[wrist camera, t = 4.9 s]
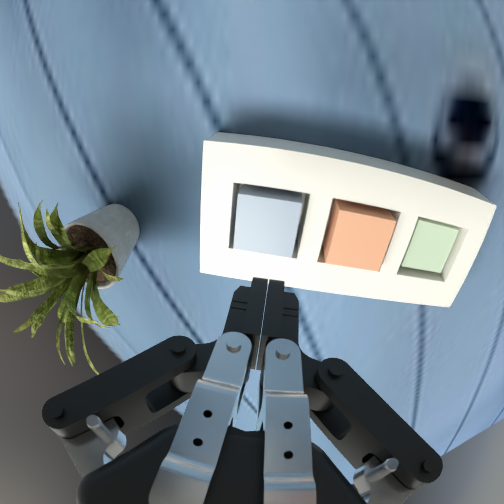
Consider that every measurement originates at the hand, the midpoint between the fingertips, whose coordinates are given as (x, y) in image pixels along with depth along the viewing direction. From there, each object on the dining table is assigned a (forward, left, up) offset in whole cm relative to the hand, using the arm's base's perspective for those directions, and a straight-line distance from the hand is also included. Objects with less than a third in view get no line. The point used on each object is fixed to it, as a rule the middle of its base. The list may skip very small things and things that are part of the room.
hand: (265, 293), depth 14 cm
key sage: (+13, 0, -11) cm, 18 cm away
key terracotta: (+6, 0, -10) cm, 12 cm away
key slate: (-1, 0, -10) cm, 10 cm away
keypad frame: (+6, 0, -13) cm, 14 cm away
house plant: (-15, -5, -13) cm, 20 cm away
